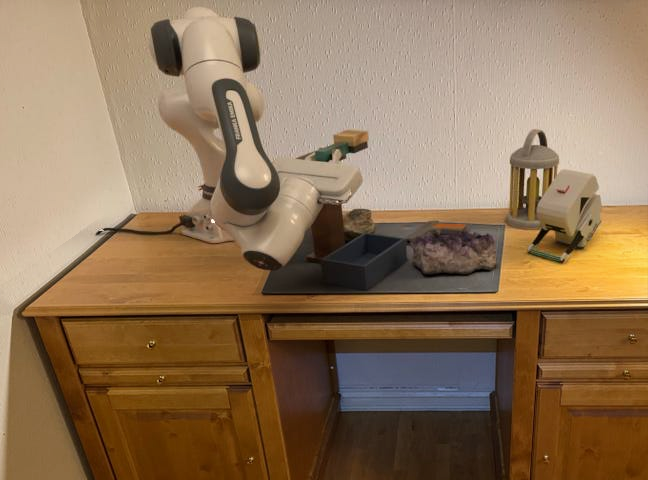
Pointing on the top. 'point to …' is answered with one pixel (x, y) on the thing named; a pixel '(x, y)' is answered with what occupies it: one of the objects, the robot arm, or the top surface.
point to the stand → (326, 229)
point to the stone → (357, 223)
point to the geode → (454, 253)
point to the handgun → (436, 230)
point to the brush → (344, 144)
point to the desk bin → (364, 261)
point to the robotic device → (569, 212)
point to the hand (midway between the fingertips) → (330, 150)
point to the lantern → (530, 180)
